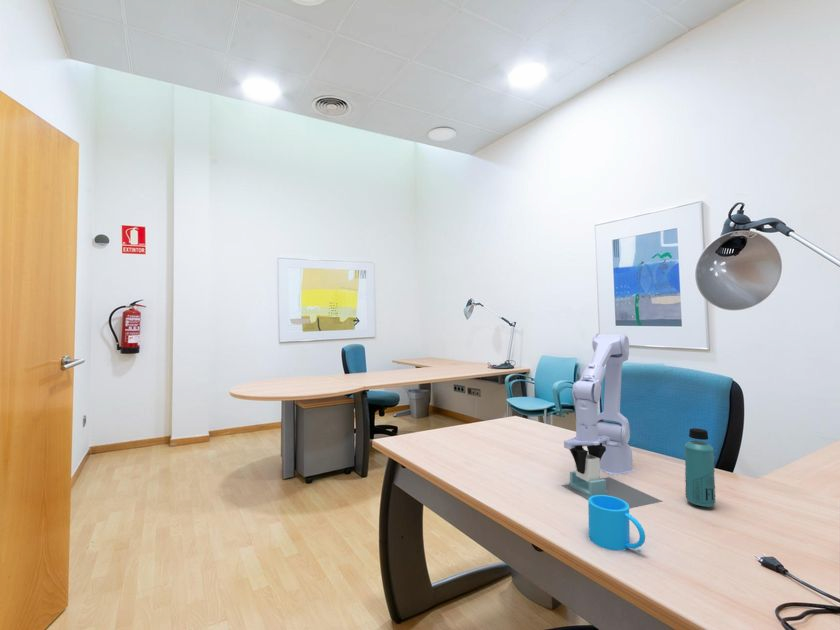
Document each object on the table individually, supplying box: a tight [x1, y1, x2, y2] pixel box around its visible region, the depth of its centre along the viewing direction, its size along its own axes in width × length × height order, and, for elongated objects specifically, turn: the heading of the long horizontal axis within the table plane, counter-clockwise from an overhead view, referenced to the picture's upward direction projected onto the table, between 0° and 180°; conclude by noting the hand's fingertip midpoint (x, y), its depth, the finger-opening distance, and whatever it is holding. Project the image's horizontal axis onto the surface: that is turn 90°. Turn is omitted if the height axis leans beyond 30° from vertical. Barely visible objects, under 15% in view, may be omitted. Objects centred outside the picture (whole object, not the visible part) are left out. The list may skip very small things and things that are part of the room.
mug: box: [587, 495, 646, 551], centre depth 87 cm, size 12×8×8 cm
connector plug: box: [575, 453, 601, 482], centre depth 115 cm, size 4×5×6 cm
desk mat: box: [561, 476, 663, 509], centre depth 112 cm, size 18×18×1 cm
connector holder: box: [568, 470, 608, 497], centre depth 115 cm, size 6×8×4 cm
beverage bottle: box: [684, 427, 717, 508], centre depth 105 cm, size 6×7×20 cm
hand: (587, 471), depth 115 cm, fingers closed on connector plug, 4 cm apart
